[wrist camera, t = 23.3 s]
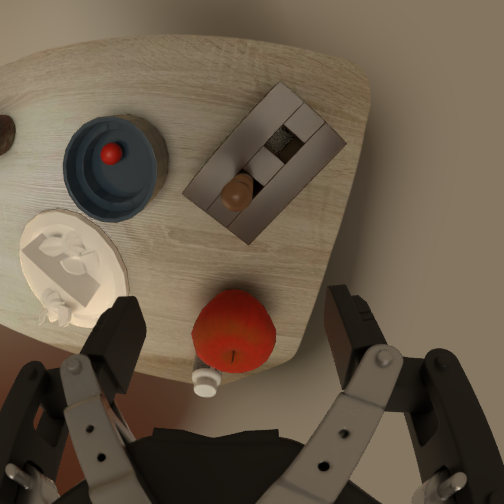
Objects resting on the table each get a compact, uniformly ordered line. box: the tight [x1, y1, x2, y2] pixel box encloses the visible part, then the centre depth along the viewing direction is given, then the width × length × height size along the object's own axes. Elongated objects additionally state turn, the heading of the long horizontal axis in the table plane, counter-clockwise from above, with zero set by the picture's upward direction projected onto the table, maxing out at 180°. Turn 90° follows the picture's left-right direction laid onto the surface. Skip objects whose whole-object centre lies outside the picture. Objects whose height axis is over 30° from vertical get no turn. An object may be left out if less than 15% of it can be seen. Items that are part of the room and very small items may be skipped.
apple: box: [191, 289, 276, 373], centre depth 44 cm, size 12×12×14 cm
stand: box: [182, 81, 347, 245], centre depth 35 cm, size 10×17×8 cm, turn 139°
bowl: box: [63, 114, 168, 223], centre depth 36 cm, size 14×14×6 cm
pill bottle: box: [192, 353, 222, 397], centre depth 51 cm, size 5×5×10 cm
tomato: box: [100, 143, 122, 165], centre depth 36 cm, size 3×3×3 cm
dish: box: [20, 208, 129, 328], centre depth 42 cm, size 25×25×11 cm
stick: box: [221, 171, 254, 212], centre depth 30 cm, size 2×2×22 cm
